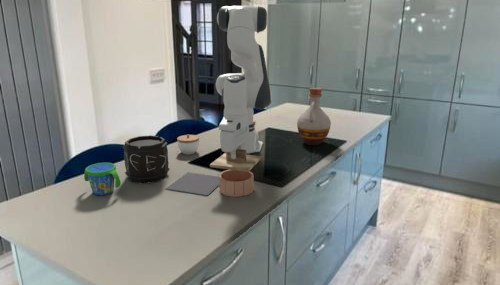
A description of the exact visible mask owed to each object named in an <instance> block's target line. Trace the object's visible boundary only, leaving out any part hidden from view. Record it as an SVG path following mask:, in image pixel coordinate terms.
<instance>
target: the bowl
mask: <svg viewBox="0 0 500 285" xmlns="http://www.w3.org/2000/svg"><path fill="white" fill-rule="evenodd" d="M218 177H219V186H218V189H219V192H220V194H222V195H224V196H227V197H229V198H233V197H234V198H240V197H242V198H243V197H246V196H249V195H251V194H252V193H253V192H254V187H255V186H254V184H255V176H254V173H253V172H252V171H251V170H250V171H249V172H245V171H237V170H229V169H225V170H223V171H221V172H220V173H219V174H218Z"/></svg>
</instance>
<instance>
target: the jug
mask: <svg viewBox="0 0 500 285" xmlns="http://www.w3.org/2000/svg"><path fill="white" fill-rule="evenodd" d="M308 89H309V94H308V95H309V96H308V97H309V99H310V105H309V107H308V108H307V109H306V110H304V111H303V112H302V113H301V114H300V115H299V117H298V118H297V122H296V124H297V131H298V135H299V137H300V138H301V139H302V141H303V142H304V143H305V144H306V145H308V146H319V145H321V143H323V142H324V140H325V139H326V138H327V137H328V134H329V133H330V130H331V124H332V122H331V119H330V116H328V115H327V113H326V112H325V111H323V109H322V108H321V106H320V101H321V97H322V91H323V88H319V87H317V88H316V87H310V88H308Z"/></svg>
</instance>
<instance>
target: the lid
mask: <svg viewBox="0 0 500 285" xmlns="http://www.w3.org/2000/svg"><path fill="white" fill-rule="evenodd" d="M236 153H237V158H236V159H232V158H231V153H230V152H224V153H223V154H222V155H220V156H219V157H218V158H216V159H215V160H214V161H212V162H211V163H210V164H209V167H210V168H214V169H215V168H216V169H222V170H237V171H245V172H249V171H250V172H251V170H252V169H254V167H255V166H256V165H257V164H258V163H259V162H260V161H261V160H262V156H260V155H255V154H254V155H252V154H246V150H242V149H236Z"/></svg>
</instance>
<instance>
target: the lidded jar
mask: <svg viewBox="0 0 500 285" xmlns="http://www.w3.org/2000/svg"><path fill="white" fill-rule="evenodd" d="M176 139H177V140H176V141H177V147H178V149H179V151H180V152H181V153H182V154H183V155H194V154H195V153H196V151H197V150H198V148H199V147H200V146H199V145H200V138H199V136H198V135H195V134H184V135H180V136H178V137H177V138H176Z"/></svg>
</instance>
